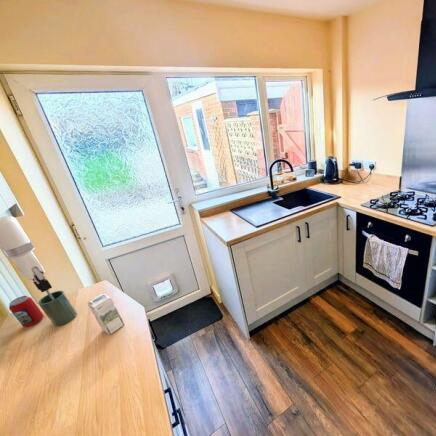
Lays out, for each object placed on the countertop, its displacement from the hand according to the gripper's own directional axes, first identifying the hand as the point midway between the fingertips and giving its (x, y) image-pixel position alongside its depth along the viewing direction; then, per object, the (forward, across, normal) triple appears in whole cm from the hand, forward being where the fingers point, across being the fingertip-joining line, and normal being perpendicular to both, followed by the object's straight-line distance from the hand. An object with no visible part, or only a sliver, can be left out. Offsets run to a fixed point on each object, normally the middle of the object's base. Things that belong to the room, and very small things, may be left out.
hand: (45, 288), depth 97 cm
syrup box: (+17, +26, +7) cm, 32 cm away
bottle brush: (+15, 0, 0) cm, 15 cm away
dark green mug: (+17, 0, 0) cm, 17 cm away
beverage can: (+17, -12, -7) cm, 22 cm away
